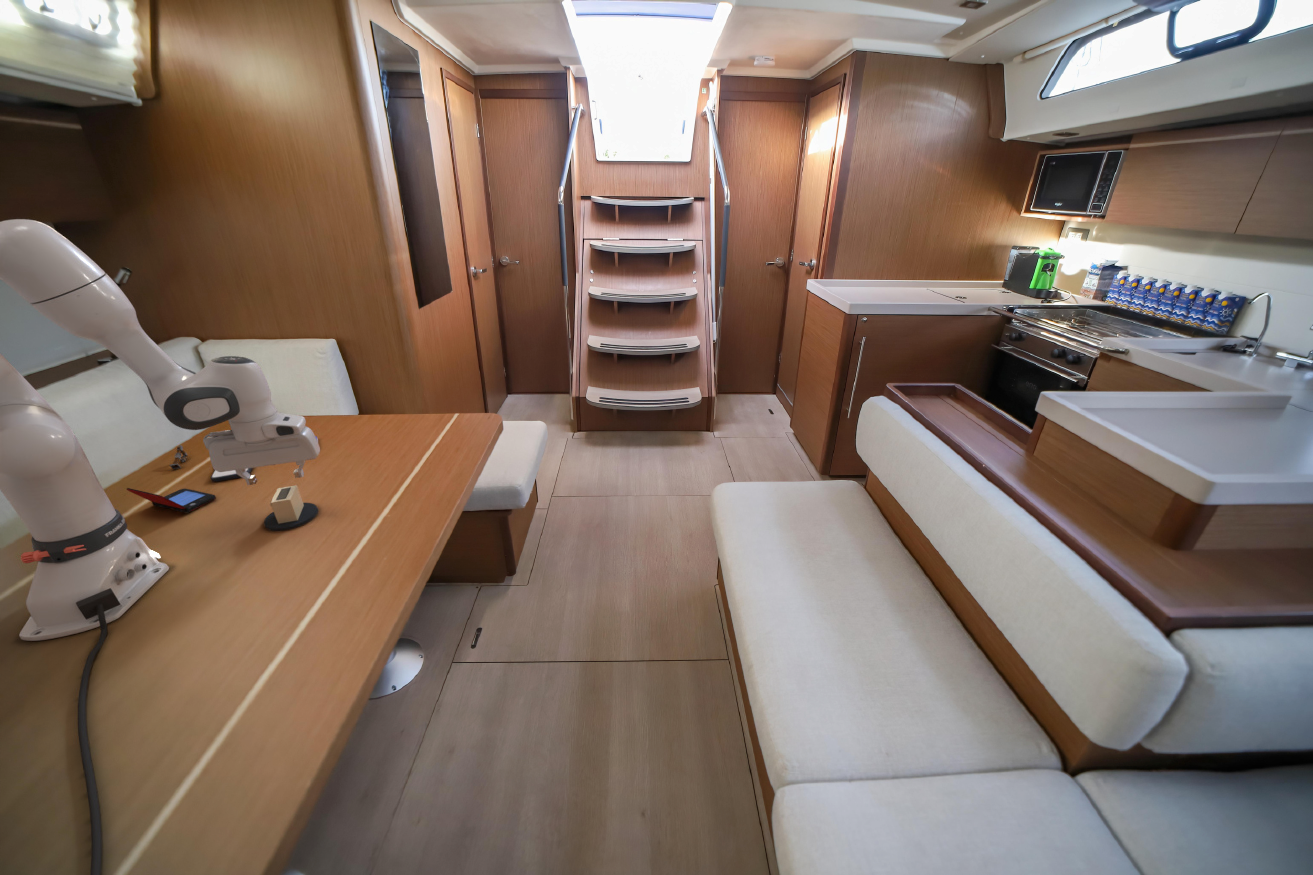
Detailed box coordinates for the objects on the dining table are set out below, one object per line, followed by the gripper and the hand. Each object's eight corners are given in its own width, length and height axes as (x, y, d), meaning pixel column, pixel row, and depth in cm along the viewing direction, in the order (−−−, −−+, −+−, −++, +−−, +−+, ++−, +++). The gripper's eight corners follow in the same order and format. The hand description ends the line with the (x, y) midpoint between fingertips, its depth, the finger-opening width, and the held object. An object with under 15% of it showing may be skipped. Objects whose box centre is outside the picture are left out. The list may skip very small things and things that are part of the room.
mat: (313, 525, 120) (312, 522, 120) (258, 535, 117) (257, 532, 116) (322, 501, 129) (321, 499, 129) (271, 510, 126) (270, 507, 125)
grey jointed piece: (191, 452, 151) (182, 443, 147) (185, 473, 146) (177, 463, 143) (183, 453, 150) (175, 444, 147) (177, 474, 146) (169, 465, 142)
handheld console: (219, 498, 130) (208, 474, 127) (172, 522, 121) (159, 496, 118) (185, 490, 133) (173, 466, 130) (137, 512, 124) (123, 487, 121)
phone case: (250, 476, 141) (260, 452, 153) (248, 471, 140) (258, 447, 153) (210, 484, 137) (224, 458, 150) (208, 479, 136) (222, 453, 149)
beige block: (304, 503, 127) (297, 482, 125) (297, 520, 121) (289, 499, 118) (286, 506, 126) (278, 485, 123) (278, 523, 119) (269, 502, 117)
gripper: (194, 439, 106) (217, 494, 112) (306, 426, 113) (323, 479, 119) (205, 427, 111) (227, 481, 117) (312, 415, 118) (328, 466, 124)
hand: (276, 480), depth 118 cm, fingers open, 8 cm apart
